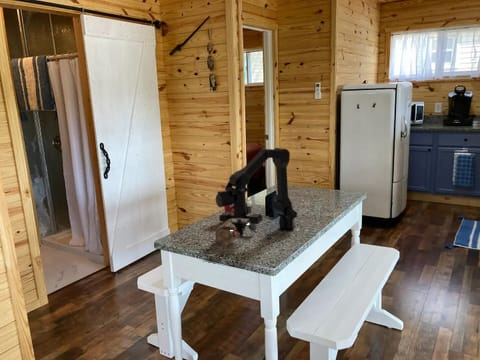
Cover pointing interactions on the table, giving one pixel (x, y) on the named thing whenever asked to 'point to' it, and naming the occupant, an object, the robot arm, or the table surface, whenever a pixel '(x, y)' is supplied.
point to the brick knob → (235, 233)
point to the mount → (225, 233)
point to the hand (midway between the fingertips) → (241, 235)
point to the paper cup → (229, 209)
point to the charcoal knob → (251, 227)
